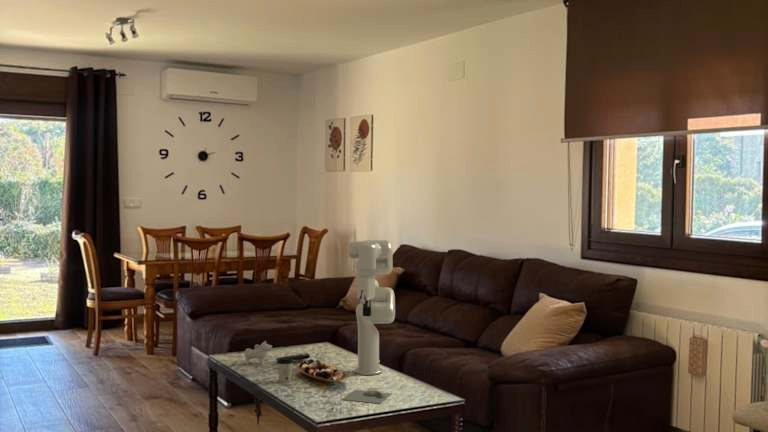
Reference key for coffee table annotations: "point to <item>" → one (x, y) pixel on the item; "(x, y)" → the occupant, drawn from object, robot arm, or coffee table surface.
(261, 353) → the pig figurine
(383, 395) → the lighter
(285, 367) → the coffee cup
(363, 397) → the mat
